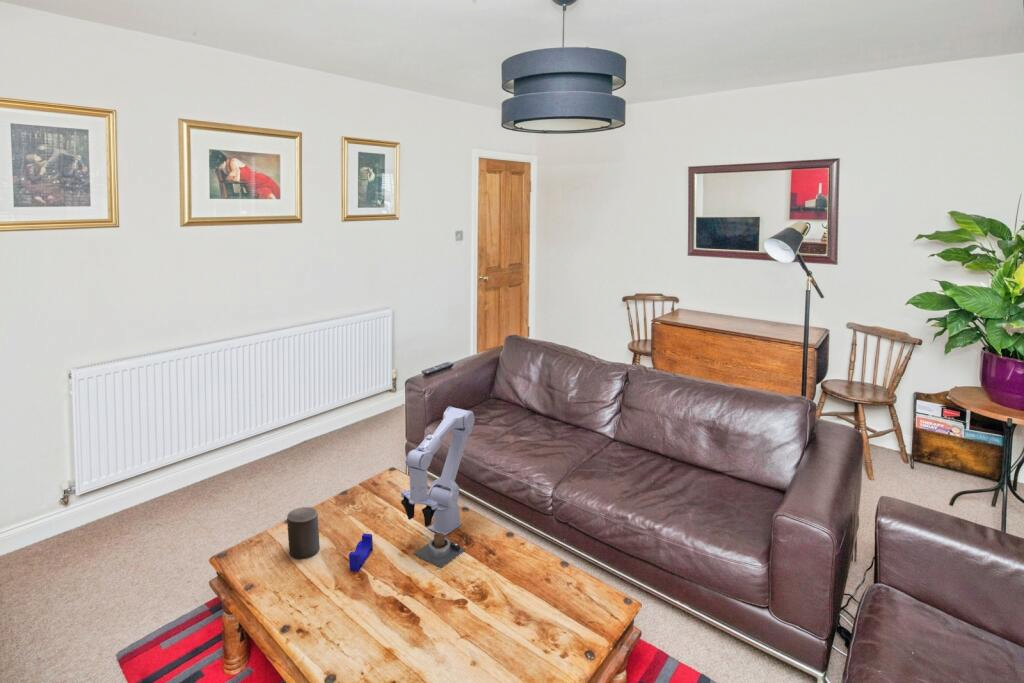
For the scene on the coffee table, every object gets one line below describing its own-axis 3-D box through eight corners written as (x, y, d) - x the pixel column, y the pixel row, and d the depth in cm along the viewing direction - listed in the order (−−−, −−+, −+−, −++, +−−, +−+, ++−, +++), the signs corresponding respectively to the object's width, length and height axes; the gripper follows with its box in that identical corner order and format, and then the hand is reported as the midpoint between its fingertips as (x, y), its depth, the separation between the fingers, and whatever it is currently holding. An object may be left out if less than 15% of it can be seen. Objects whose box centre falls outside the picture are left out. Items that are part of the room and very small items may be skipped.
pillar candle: (291, 562, 191) (288, 521, 188) (287, 546, 200) (284, 506, 196) (322, 554, 196) (320, 514, 192) (317, 539, 204) (315, 500, 200)
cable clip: (360, 548, 200) (359, 532, 198) (372, 549, 199) (372, 534, 197) (345, 570, 188) (344, 554, 187) (358, 571, 187) (357, 555, 186)
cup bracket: (438, 538, 206) (438, 529, 205) (464, 550, 199) (464, 541, 198) (414, 554, 196) (413, 545, 195) (441, 568, 190) (440, 558, 189)
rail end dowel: (439, 547, 200) (439, 531, 198) (447, 551, 198) (446, 535, 196) (432, 551, 197) (431, 535, 196) (439, 555, 195) (438, 539, 193)
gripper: (394, 483, 195) (395, 520, 198) (427, 496, 187) (427, 534, 191) (409, 475, 201) (409, 511, 204) (441, 487, 193) (441, 524, 196)
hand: (419, 521), depth 198 cm, fingers open, 7 cm apart
